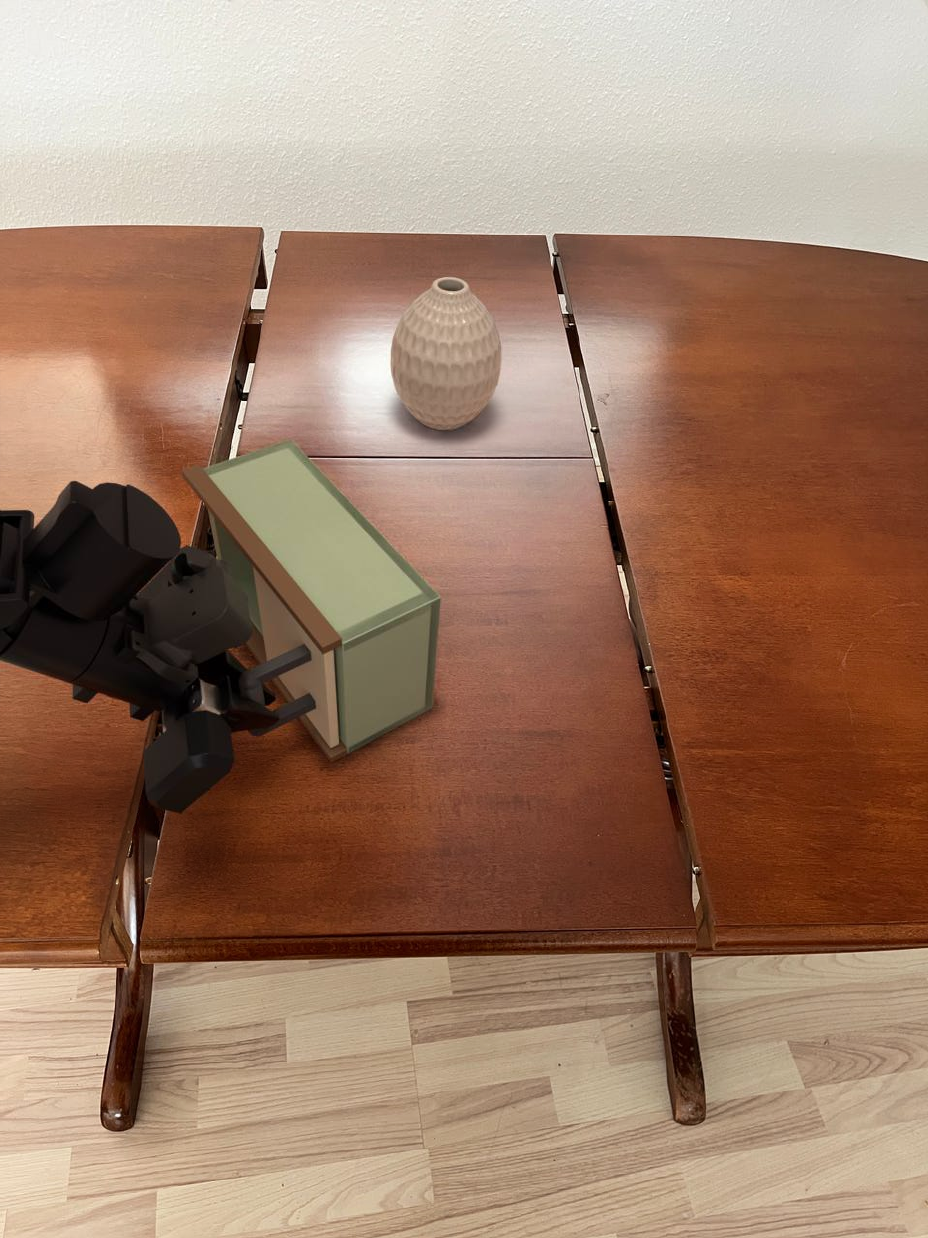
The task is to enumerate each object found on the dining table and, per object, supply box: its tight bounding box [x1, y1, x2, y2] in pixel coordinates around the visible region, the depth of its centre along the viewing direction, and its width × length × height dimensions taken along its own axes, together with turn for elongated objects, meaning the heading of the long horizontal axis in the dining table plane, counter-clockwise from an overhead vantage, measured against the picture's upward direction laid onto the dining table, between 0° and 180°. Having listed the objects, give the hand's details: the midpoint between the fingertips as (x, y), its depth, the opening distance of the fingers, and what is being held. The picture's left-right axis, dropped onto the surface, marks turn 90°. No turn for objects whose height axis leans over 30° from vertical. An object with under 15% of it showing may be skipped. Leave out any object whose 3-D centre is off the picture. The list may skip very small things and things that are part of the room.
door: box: [239, 567, 339, 748], centre depth 67 cm, size 6×11×12 cm, turn 36°
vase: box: [390, 276, 503, 431], centre depth 99 cm, size 13×13×17 cm
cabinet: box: [180, 438, 442, 764], centre depth 73 cm, size 10×23×15 cm, turn 36°
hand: (274, 711), depth 65 cm, fingers closed on door, 2 cm apart
